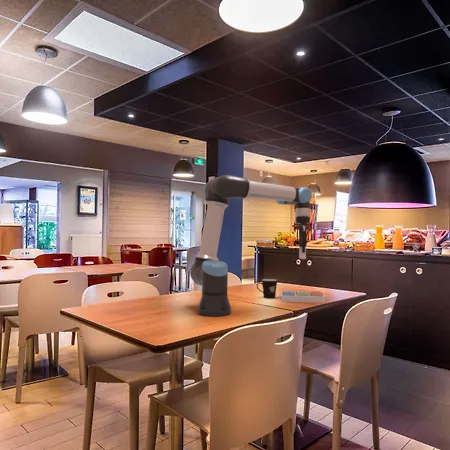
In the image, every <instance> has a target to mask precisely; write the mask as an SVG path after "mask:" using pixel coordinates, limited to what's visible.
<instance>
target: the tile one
mask: <svg viewBox="0 0 450 450" xmlns="http://www.w3.org/2000/svg"><path fill="white" fill-rule="evenodd" d="M295 292H296V291H294V290H282V292H281V293H282V295H283V296H295Z"/></svg>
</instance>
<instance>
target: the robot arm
mask: <svg viewBox="0 0 450 450" xmlns="http://www.w3.org/2000/svg"><path fill="white" fill-rule="evenodd" d="M204 196H205V204H206V205H207V207H206V208H207V209H206V213H205V218H204V225H203V231H202V237H201V241H200V246H199V247H200V248H199V252H198V254H197V255H195V258H194V262H193V264H192V265H191V267H190V269H189V277H190V279H191V280H192V281H193V282H194V283H195V284H196V285H199V286H201V297H200V300H199V304H198V307H197V314H199V315H201V316H205V317H206V316H207V317H223V316H228V315H230V314H232V306H231V303H230V300H229V296H228V287H229V286H228V279H229V278H228V275H229V268H228V264H227V262H224V261H222V260H219V258H218V257H217V254H218V249H219V243H220V236H221V231H222V226H223V222H224V221H223V220H224V214H225V210H226V208H228V207H229V204H230V199H246V198H248V197H249V198H256V199H264V200H272V201H273V200H275V201H276V203H277V204H278V205H282V206H283V205H288V206H289V205H291V206H292V205H294V206H295V224H299V226H298V245H299V247H298V248H299V249H298V250H299V252H298V258H299V259H300V260H306V259H307V254H306V253H307V246H308V245H307V230H308V229H307V228H308V227H307V226H306V224H310V220H311V217H310V214H311V213H310V212H311V211H312V210H311V204H310V203H311V200H312V197H313V193H312V190H311V189H310V188H309V187H296V186H295V187H294V186H289V185H288V186H287V185H280V184H276V183H275V184H274V183H268V182H259V181H253V180H250V179H248V178H247V177H242V176H241V177H240V176H236V175H230V174H224V175H220V176H218V177H213V178H211V179H210V180H209V181H208V182H207V183H206V184H205V187H204Z"/></svg>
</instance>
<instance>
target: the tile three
mask: <svg viewBox="0 0 450 450" xmlns="http://www.w3.org/2000/svg"><path fill="white" fill-rule="evenodd" d="M309 294H310V296H323V295H324V293H323V291H320V290H315V291H314V290H310V291H309Z"/></svg>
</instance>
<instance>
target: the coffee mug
mask: <svg viewBox="0 0 450 450" xmlns="http://www.w3.org/2000/svg"><path fill="white" fill-rule="evenodd" d="M259 284H261V285H262V290H261V289H259V287H258V286H259ZM277 285H278V279H274V278H270V279H269V278H264V279H262V280H261V282H258V283H256V289H257V290H258V291H259V292H261V293H263V298H264V299H269V300H271V299H275V298H276V293H277V287H278V286H277Z"/></svg>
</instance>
